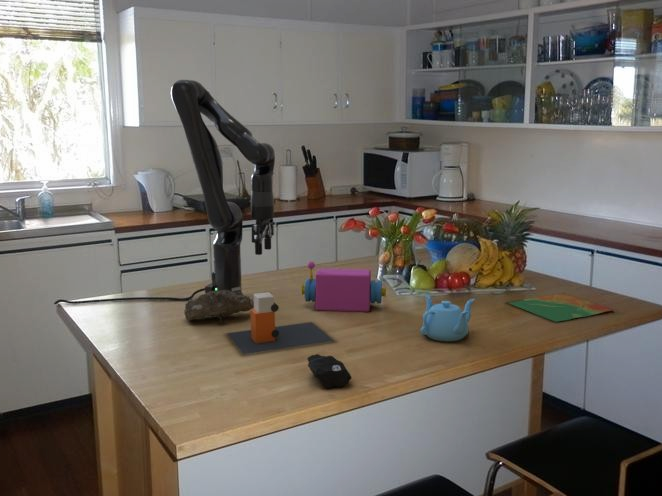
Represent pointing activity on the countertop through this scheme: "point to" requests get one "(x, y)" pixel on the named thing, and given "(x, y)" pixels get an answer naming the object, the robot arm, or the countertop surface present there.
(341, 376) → the rock
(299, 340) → the mat
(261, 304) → the truck
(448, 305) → the teapot
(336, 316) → the countertop surface
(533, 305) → the terrain model
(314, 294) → the toy
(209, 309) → the fossil
